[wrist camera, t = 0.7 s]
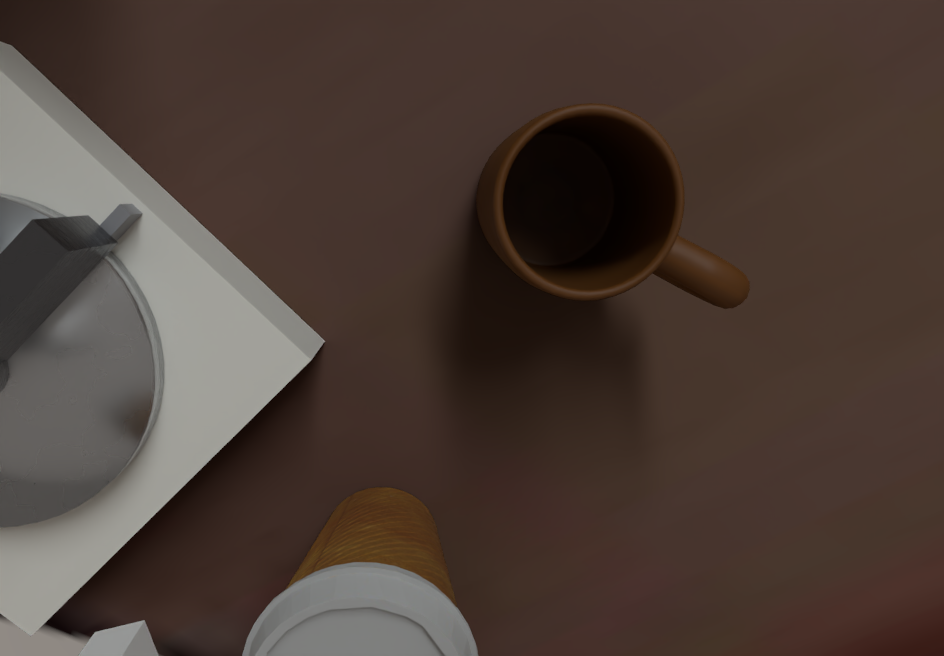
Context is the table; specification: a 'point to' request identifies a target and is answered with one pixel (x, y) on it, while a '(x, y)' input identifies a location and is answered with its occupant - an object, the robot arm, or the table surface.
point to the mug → (595, 209)
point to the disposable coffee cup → (368, 588)
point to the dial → (69, 362)
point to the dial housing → (179, 324)
